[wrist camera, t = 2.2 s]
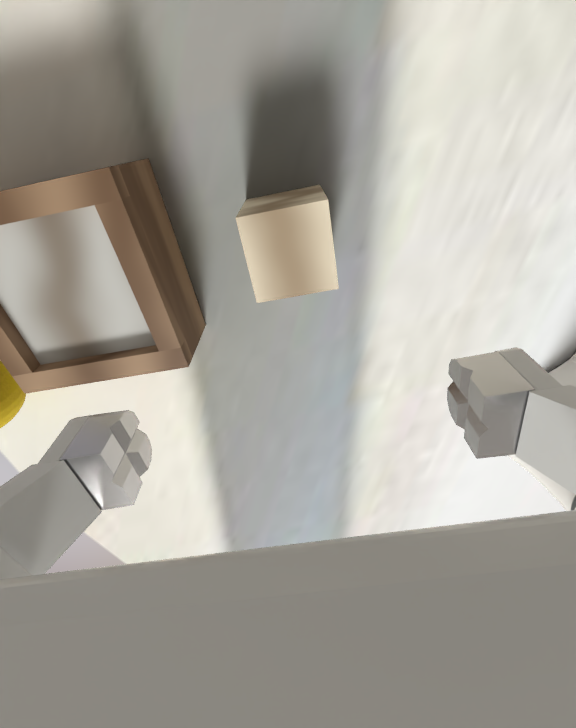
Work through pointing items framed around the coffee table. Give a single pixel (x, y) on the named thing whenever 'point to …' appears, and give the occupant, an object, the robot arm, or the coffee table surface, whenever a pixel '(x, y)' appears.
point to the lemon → (9, 396)
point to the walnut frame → (92, 281)
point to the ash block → (288, 243)
